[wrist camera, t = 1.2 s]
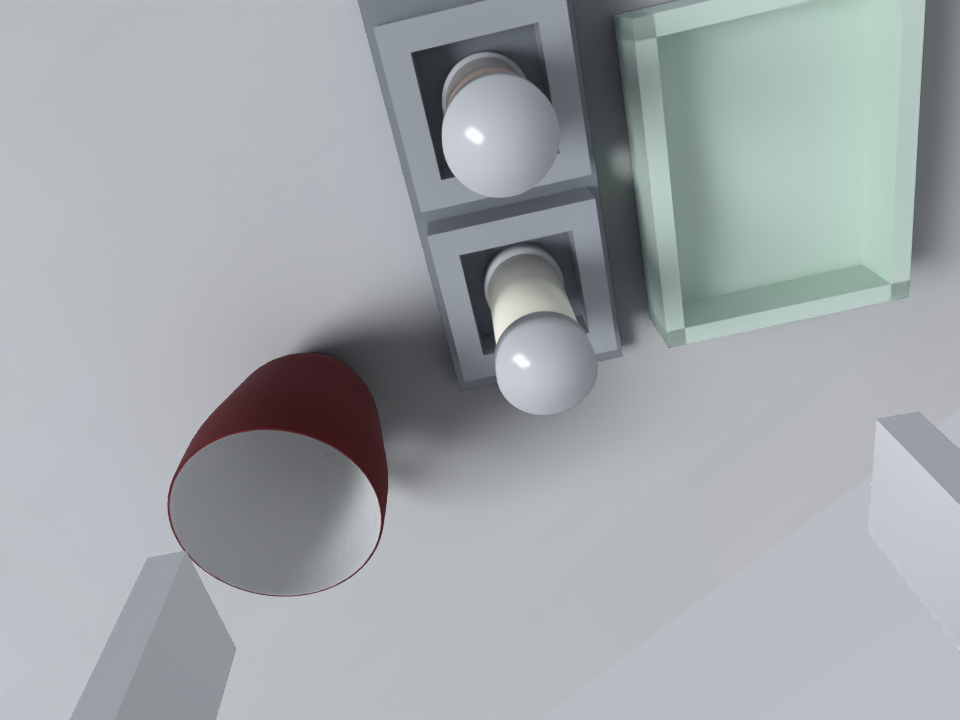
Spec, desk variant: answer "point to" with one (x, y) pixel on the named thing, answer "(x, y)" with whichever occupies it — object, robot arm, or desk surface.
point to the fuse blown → (496, 126)
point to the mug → (285, 480)
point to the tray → (771, 157)
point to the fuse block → (481, 219)
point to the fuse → (536, 332)
